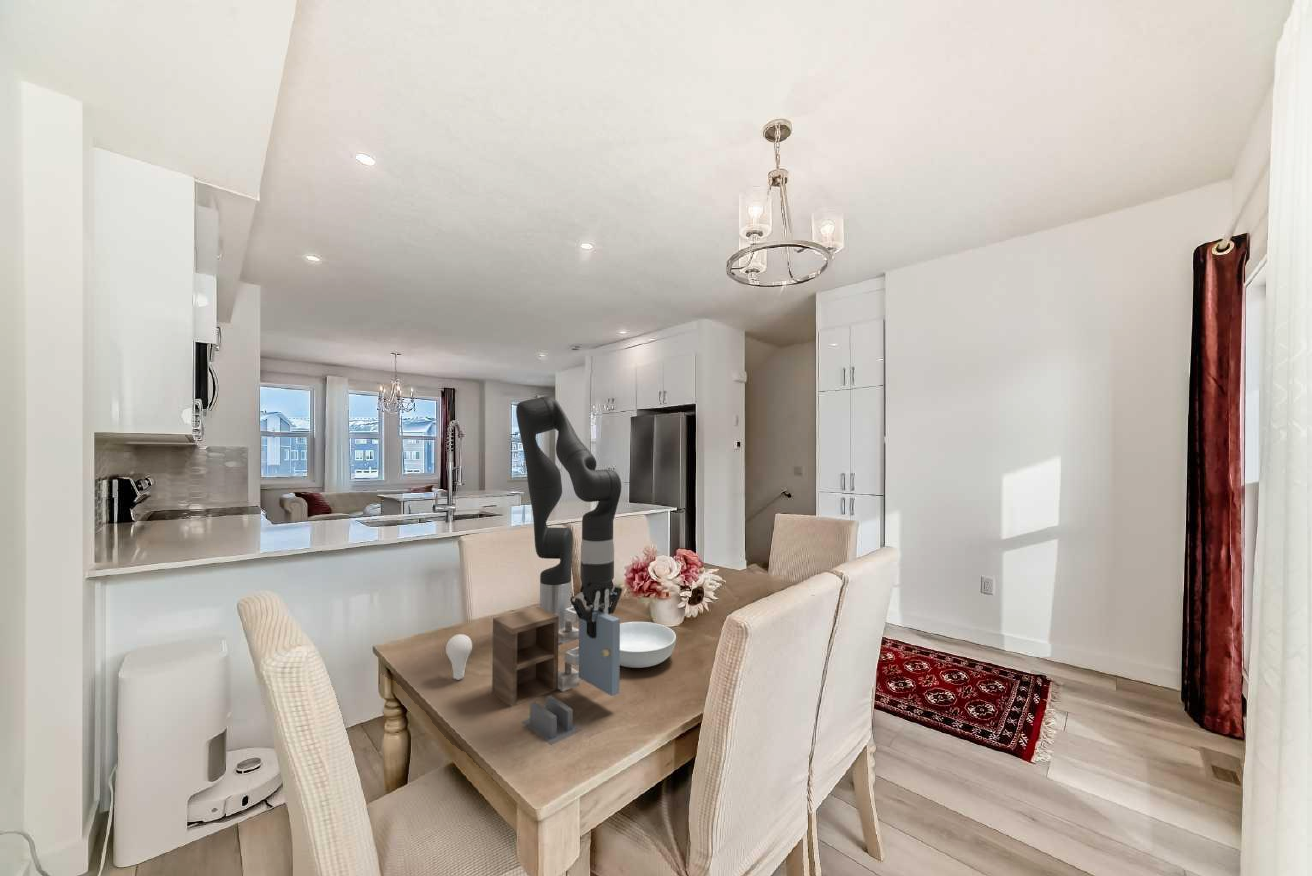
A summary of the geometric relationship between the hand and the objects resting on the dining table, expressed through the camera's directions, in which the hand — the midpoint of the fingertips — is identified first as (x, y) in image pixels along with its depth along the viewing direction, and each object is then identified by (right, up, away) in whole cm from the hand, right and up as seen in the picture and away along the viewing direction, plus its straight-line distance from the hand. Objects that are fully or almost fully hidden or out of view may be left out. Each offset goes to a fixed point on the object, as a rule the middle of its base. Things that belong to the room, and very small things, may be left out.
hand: (596, 635), depth 114 cm
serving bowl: (+8, -16, +24) cm, 30 cm away
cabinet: (-15, -16, +6) cm, 22 cm away
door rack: (-8, -16, -10) cm, 20 cm away
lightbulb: (-36, -16, +12) cm, 41 cm away
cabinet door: (-1, -11, +1) cm, 11 cm away
